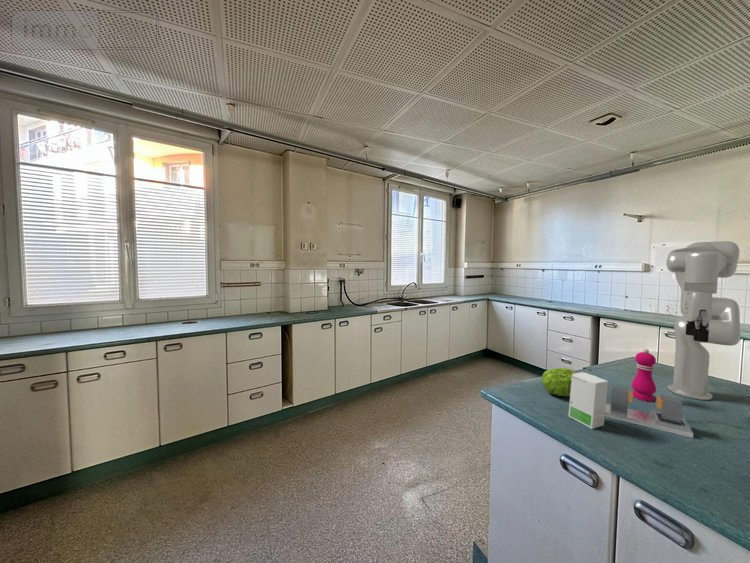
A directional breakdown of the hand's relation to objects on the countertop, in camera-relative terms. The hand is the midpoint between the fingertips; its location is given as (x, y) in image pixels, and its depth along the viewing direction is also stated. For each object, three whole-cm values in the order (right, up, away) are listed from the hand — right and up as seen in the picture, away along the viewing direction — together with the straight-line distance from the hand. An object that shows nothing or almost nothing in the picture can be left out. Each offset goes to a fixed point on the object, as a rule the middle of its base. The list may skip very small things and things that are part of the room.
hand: (696, 338), depth 99 cm
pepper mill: (-2, -28, +17) cm, 32 cm away
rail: (-18, -28, 0) cm, 34 cm away
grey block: (-13, -27, -4) cm, 30 cm away
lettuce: (-29, -27, +23) cm, 46 cm away
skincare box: (-38, -29, 0) cm, 47 cm away
